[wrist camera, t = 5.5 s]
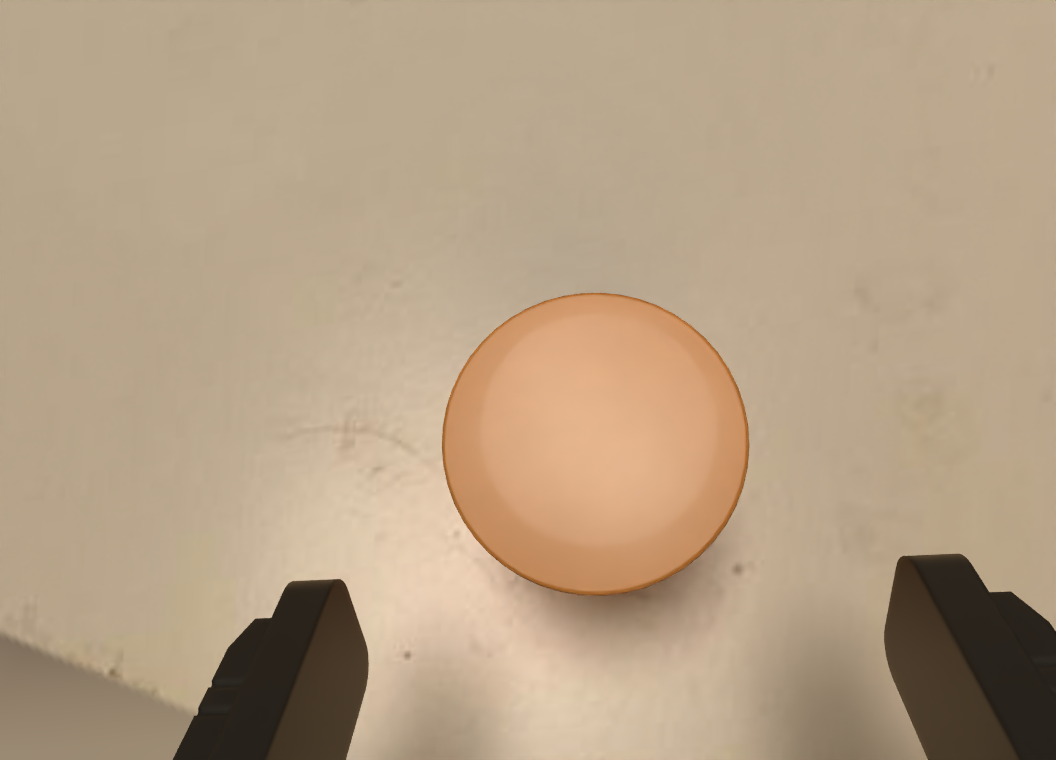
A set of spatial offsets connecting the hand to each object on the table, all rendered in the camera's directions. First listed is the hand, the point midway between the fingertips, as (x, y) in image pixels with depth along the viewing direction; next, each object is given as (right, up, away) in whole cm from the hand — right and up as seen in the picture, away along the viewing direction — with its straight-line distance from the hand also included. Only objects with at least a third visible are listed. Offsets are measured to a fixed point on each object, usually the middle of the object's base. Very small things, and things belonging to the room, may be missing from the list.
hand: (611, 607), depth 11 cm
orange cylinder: (+1, +1, +9) cm, 9 cm away
